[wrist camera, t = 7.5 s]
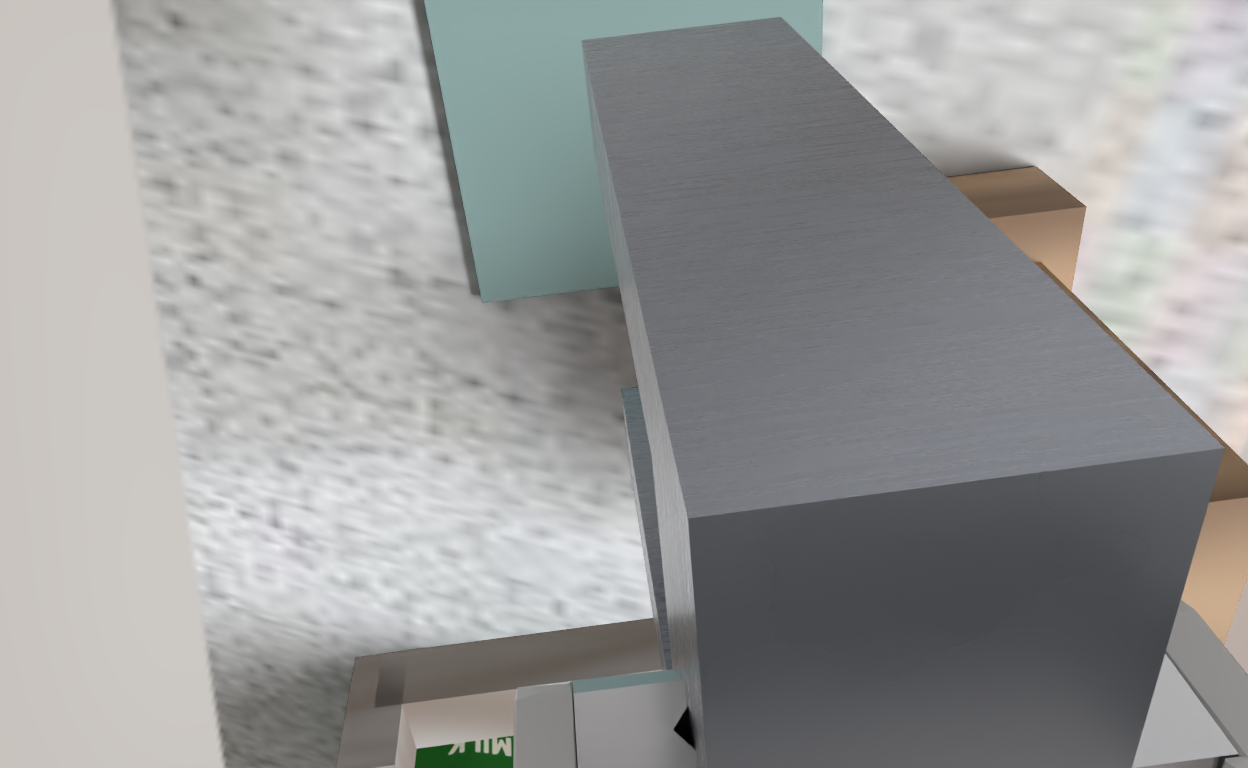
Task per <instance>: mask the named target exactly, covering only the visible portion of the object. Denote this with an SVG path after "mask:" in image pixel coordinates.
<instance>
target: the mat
mask: <svg viewBox="0 0 1248 768" xmlns="http://www.w3.org/2000/svg"><path fill="white" fill-rule="evenodd" d="M424 3H425V8H426V14H427V19H428V24H429V29H430V34H431V40H432V45H433V50H434V55H435V60H436V66H437V71H438V76H439V81H440V86H441V92H442V97H443V102H444V107H445V112H446V118H447V123H448V128H449V133H450V138H451V144H452V149H453V154H454V159H455V164H456V170H457V175H458V180H459V185H460V190H461V196H462V201H463V206H464V211H465V216H466V222H467V227H468V232H469V237H470V242H471V248H472V253H473V258H474V263H475V268H476V273H477V279H478V284H479V289H480V294H481V299H482V303H487V302H495V301H503V300H511V299H519V298H527V297H536V296H544V295H552V294H560V293H568V292H576V291H584V290H592V289H601V288H609V287H617V286H619V282H618V277H617V272H616V266H615V261H614V256H613V251H612V245H611V240H610V235H609V230H608V224H607V219H606V214H605V209H604V203H603V198H602V193H601V188H600V182H599V177H598V172H597V167H596V161H595V156H594V147H593V138H592V129H591V120H590V112H589V103H588V94H587V85H586V76H585V68H584V59H583V50H582V41H581V40H588V39H597V38H605V37H614V36H622V35H630V34H639V33H647V32H656V31H664V30H673V29H681V28H689V27H698V26H706V25H715V24H723V23H731V22H740V21H748V20H757V19H765V18H774V17H782V18H783V19H784V20H785V21H786V22H787V23H788V24H789V25H790V26H791V27H792V28H793V29H794V30H795V31H796V32H797V33H798V34H799V35H800V36H801V37H802V38H803V39H804V40H806V41H807V42H808V43H809V44H810V45H811V46H812V47H813V48H814V49H815V50H816V51H817V52H818V53H819V54H820V55H821V56H822V19H823V0H424Z"/></svg>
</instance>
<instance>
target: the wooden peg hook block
mask: <svg viewBox="0 0 1248 768" xmlns="http://www.w3.org/2000/svg"><path fill="white" fill-rule="evenodd" d="M947 178H948V179H949V180H950V181H951V182H952V183H953V184H954V185H955V186H956V187H957V188H958V189H959V190H960V191H961V192H962V193H963V194H964V195H965V196H966V197H967V198H968V199H969V200H970V201H971V202H972V203H973V204H974V205H975V206H976V207H977V208H978V209H979V210H980V211H981V212H983V213H984V214H985V215H986V216H987V217H988V218H989V219H990V220H991V221H992V222H993V223H994V224H995V225H996V226H997V227H998V228H999V229H1000V230H1001V231H1002V232H1003V233H1004V234H1005V235H1006V236H1007V237H1008V238H1009V239H1010V240H1011V241H1012V242H1013V243H1014V244H1015V245H1016V246H1018V247H1019V248H1020V249H1021V250H1022V251H1023V252H1024V253H1025V254H1026V255H1027V256H1028V257H1029V258H1030V259H1031V260H1032V261H1033V262H1034V263H1035V264H1036V265H1037V266H1038V267H1039V268H1040V269H1041V270H1042V271H1043V272H1044V273H1045V274H1046V275H1047V276H1048V277H1049V278H1050V279H1051V280H1053V281H1054V282H1055V283H1056V284H1057V285H1058V286H1059V287H1060V288H1061V289H1062V290H1063V291H1064V292H1065V293H1066V294H1067V295H1068V296H1069V297H1070V298H1071V299H1072V300H1073V301H1074V302H1075V303H1076V304H1077V305H1078V306H1079V307H1080V308H1081V309H1082V310H1083V311H1084V312H1085V313H1086V314H1087V315H1089V316H1090V317H1091V318H1092V319H1093V320H1094V321H1095V322H1096V323H1097V324H1098V325H1099V326H1100V327H1101V328H1102V329H1103V330H1104V331H1105V332H1106V333H1107V334H1108V335H1109V336H1110V337H1111V338H1112V339H1113V340H1114V341H1115V342H1116V343H1117V344H1118V345H1119V346H1120V347H1121V348H1122V349H1124V350H1125V351H1126V352H1127V353H1128V354H1129V355H1130V356H1131V357H1132V358H1133V359H1134V360H1135V361H1136V362H1137V363H1138V364H1139V365H1140V366H1141V367H1142V368H1143V369H1144V370H1145V371H1146V372H1147V373H1148V374H1149V375H1150V376H1151V377H1152V378H1153V379H1154V380H1155V381H1156V382H1157V383H1159V384H1160V385H1161V386H1162V387H1163V388H1164V389H1165V390H1166V391H1167V392H1168V393H1169V394H1170V395H1171V396H1172V397H1173V398H1174V399H1175V400H1176V401H1177V402H1178V403H1179V404H1180V405H1181V406H1182V407H1183V408H1184V409H1185V410H1186V411H1187V412H1188V413H1189V414H1190V415H1191V416H1192V417H1194V418H1195V419H1196V420H1197V421H1198V422H1199V423H1200V424H1201V425H1202V426H1203V427H1204V428H1205V429H1206V430H1207V431H1208V432H1209V433H1210V434H1211V435H1212V436H1213V437H1214V438H1215V439H1216V440H1217V441H1218V442H1219V443H1220V444H1221V445H1222V446H1223V447H1224V448H1225V449H1224V453H1223V456H1222V460H1221V463H1220V467H1219V470H1218V473H1217V477H1216V480H1215V484H1214V487H1213V491H1212V494H1211V497H1210V501H1209V504H1208V508H1207V511H1206V515H1205V518H1204V522H1203V525H1202V528H1201V532H1200V535H1199V539H1198V542H1197V546H1196V549H1195V552H1194V556H1193V559H1192V563H1191V566H1190V570H1189V573H1188V577H1187V580H1186V583H1185V587H1184V590H1183V594H1182V597H1181V600H1182V601H1184V602H1186V603H1187V604H1189V605H1191V606H1192V607H1193V608H1194V609H1195V610H1196V611H1197V613H1198V614H1199V615H1200V616H1201V618H1202V619H1203V620H1204V621H1205V622H1206V624H1207V625H1208V626H1209V627H1210V629H1211V630H1212V631H1213V632H1214V634H1215V635H1216V636H1217V637H1218V639H1219V640H1220V641H1221V642H1222V643H1223V645H1224V644H1225V641H1226V638H1227V635H1228V632H1229V629H1230V627H1231V623H1232V621H1233V618H1234V615H1235V612H1236V609H1237V606H1238V604H1239V601H1240V598H1241V595H1242V592H1243V589H1244V586H1245V583H1246V581H1247V578H1248V465H1247V464H1246V463H1245V462H1244V461H1243V460H1242V459H1241V458H1240V457H1239V456H1238V455H1237V454H1236V453H1235V452H1234V451H1233V450H1232V449H1231V448H1230V447H1229V446H1228V445H1227V444H1226V443H1225V442H1224V441H1223V440H1222V439H1221V438H1220V437H1219V436H1218V435H1217V434H1216V433H1215V432H1214V431H1213V430H1212V429H1211V428H1210V427H1209V426H1208V425H1207V424H1206V423H1205V422H1204V421H1203V420H1202V419H1201V418H1200V417H1199V416H1198V415H1196V414H1195V413H1194V412H1193V411H1192V410H1191V409H1190V408H1189V407H1188V406H1187V405H1186V404H1185V403H1184V402H1183V401H1182V400H1181V399H1180V398H1179V397H1178V396H1177V395H1176V394H1175V393H1174V392H1173V391H1172V390H1171V389H1170V388H1169V387H1168V386H1167V385H1166V384H1165V383H1164V382H1163V381H1162V380H1161V379H1160V378H1159V377H1158V376H1157V375H1156V374H1155V373H1154V372H1153V371H1152V370H1151V369H1150V368H1149V367H1148V366H1147V365H1146V364H1145V363H1144V362H1142V361H1141V360H1140V359H1139V358H1138V357H1137V356H1136V355H1135V354H1134V353H1133V352H1132V351H1131V350H1130V349H1129V348H1128V347H1127V346H1126V345H1125V344H1124V343H1123V342H1122V341H1121V340H1120V339H1119V338H1118V337H1117V336H1116V335H1115V334H1114V333H1113V332H1112V331H1111V330H1110V329H1109V328H1108V327H1107V326H1106V325H1105V324H1104V323H1103V322H1102V321H1101V320H1100V319H1099V318H1098V317H1097V316H1096V315H1095V314H1094V313H1093V312H1092V311H1091V310H1090V309H1088V308H1087V307H1086V306H1085V305H1084V304H1083V303H1082V302H1081V301H1080V300H1079V299H1078V298H1077V297H1076V296H1075V295H1074V294H1073V293H1072V292H1071V290H1072V284H1073V279H1074V273H1075V267H1076V262H1077V256H1078V251H1079V245H1080V239H1081V234H1082V228H1083V222H1084V217H1085V211H1086V206H1085V205H1084V204H1082V203H1081V202H1080V201H1079V200H1077V199H1076V198H1075V197H1074V196H1072V195H1071V194H1070V193H1069V192H1067V191H1066V190H1065V189H1064V188H1063V187H1061V186H1060V185H1059V184H1058V183H1056V182H1055V181H1054V180H1053V179H1051V178H1050V177H1049V176H1048V175H1046V174H1045V173H1044V172H1043V171H1041V170H1040V169H1039V168H1038V167H1029V168H1021V169H1012V170H1004V171H996V172H988V173H979V174H971V175H963V176H955V177H947ZM655 671H662V669H661V662H660V656H659V650H658V643H657V637H656V630H655V624H654V618H650V619H642V620H635V621H627V622H619V623H612V624H604V625H597V626H589V627H581V628H574V629H566V630H559V631H551V632H544V633H536V634H528V635H521V636H513V637H506V638H498V639H490V640H483V641H475V642H468V643H460V644H452V645H445V646H437V647H430V648H422V649H415V650H407V651H399V652H392V653H384V654H377V655H369V656H361V657H356V658H355V663H354V669H353V674H352V680H351V686H350V691H349V697H348V702H347V708H346V713H345V719H344V724H343V730H342V736H341V741H340V747H339V752H338V758H337V763H336V768H415V759H416V750H417V749H418V748H425V747H433V746H440V745H448V744H455V743H463V742H470V741H477V740H485V739H492V738H500V737H507V736H514V701H515V697H516V692H517V688H518V687H526V686H534V685H543V684H551V683H560V682H568V681H573V683H574V680H582V679H591V678H600V677H609V676H619V675H628V674H637V673H646V672H655Z"/></svg>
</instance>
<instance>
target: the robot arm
mask: <svg viewBox="0 0 1248 768" xmlns="http://www.w3.org/2000/svg"><path fill="white" fill-rule="evenodd" d="M513 768H699V766H698V760H697V755H696V750H695V749H694V748H692V747H691V736H690V725H689V714H688V704H687V699H686V693H685V688H684V682H683V677H682V673H681V669H674V670H665V671H655V672H646V673H637V674H628V675H619V676H609V677H600V678H591V679H582V680H574V683H573V681H568V682H560V683H551V684H543V685H534V686H526V687H518V688H517V692H516V697H515V701H514V751H513ZM1132 768H1248V674H1247V673H1246V672H1245V671H1244V669H1243V668H1242V667H1241V666H1240V664H1239V663H1238V662H1237V661H1236V659H1235V658H1234V657H1233V656H1232V655H1231V654H1230V652H1229V651H1228V650H1227V648H1226V647H1225V646H1224V645H1223V643H1222V642H1221V641H1220V640H1219V639H1218V637H1217V636H1216V635H1215V634H1214V632H1213V631H1212V630H1211V629H1210V627H1209V626H1208V625H1207V624H1206V622H1205V621H1204V620H1203V619H1202V618H1201V616H1200V615H1199V614H1198V613H1197V611H1196V610H1195V609H1194V608H1193V607H1192V606H1191V605H1189V604H1187V603H1186V602H1184V601H1182V600H1181V601H1180V604H1179V607H1178V611H1177V614H1176V618H1175V621H1174V625H1173V628H1172V631H1171V635H1170V638H1169V642H1168V645H1167V649H1166V652H1165V656H1164V659H1163V662H1162V666H1161V669H1160V673H1159V676H1158V680H1157V683H1156V686H1155V690H1154V693H1153V697H1152V700H1151V704H1150V707H1149V710H1148V714H1147V717H1146V721H1145V724H1144V728H1143V731H1142V735H1141V738H1140V741H1139V745H1138V748H1137V752H1136V755H1135V759H1134V762H1133V765H1132Z"/></svg>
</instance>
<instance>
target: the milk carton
mask: <svg viewBox="0 0 1248 768" xmlns="http://www.w3.org/2000/svg"><path fill="white" fill-rule="evenodd" d="M513 751H514V736H507V737H500V738H492V739H485V740H477V741H470V742H463V743H455V744H448V745H440V746H433V747H425V748H418V749H417V750H416V759H415V768H513Z"/></svg>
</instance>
